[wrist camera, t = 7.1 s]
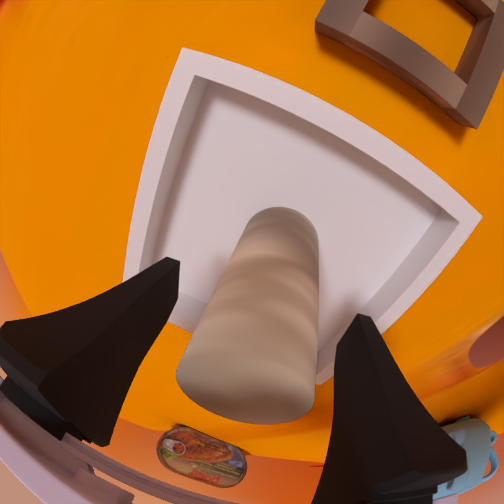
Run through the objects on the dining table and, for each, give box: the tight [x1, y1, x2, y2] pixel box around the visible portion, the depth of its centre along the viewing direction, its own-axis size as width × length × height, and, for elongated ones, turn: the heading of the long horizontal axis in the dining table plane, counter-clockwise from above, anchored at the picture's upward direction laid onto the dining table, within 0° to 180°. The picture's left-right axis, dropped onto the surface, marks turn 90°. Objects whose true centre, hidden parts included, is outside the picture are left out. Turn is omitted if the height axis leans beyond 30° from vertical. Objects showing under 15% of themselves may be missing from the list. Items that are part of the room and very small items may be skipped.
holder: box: [315, 0, 504, 129], centre depth 7 cm, size 8×8×2 cm
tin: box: [157, 427, 247, 488], centre depth 33 cm, size 15×3×8 cm, turn 56°
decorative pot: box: [433, 416, 499, 500], centre depth 21 cm, size 16×16×14 cm
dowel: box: [176, 207, 319, 424], centre depth 11 cm, size 4×4×9 cm
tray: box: [123, 48, 482, 385], centre depth 14 cm, size 15×15×3 cm
